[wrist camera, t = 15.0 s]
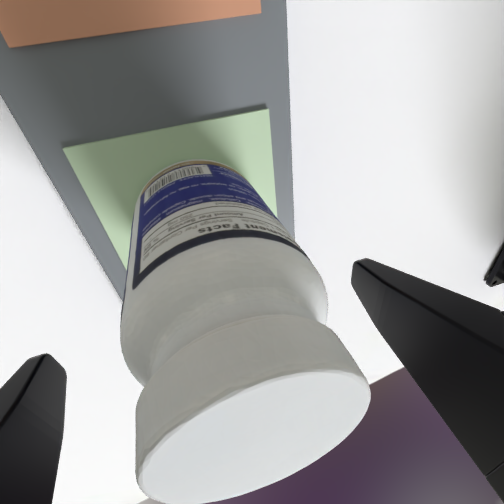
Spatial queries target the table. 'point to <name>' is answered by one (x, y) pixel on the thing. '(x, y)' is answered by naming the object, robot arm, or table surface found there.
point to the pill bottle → (227, 342)
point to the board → (147, 101)
